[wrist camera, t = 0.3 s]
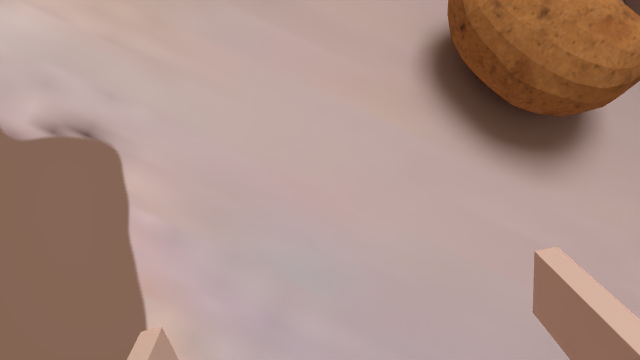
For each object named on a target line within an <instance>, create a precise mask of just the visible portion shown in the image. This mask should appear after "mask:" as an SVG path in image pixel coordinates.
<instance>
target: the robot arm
mask: <svg viewBox="0 0 640 360" xmlns="http://www.w3.org/2000/svg"><path fill="white" fill-rule="evenodd" d="M533 313H534V314H535V316H536V317H537V318H538V319H539V321H540V322H541V323H542V324H543V326H544V327H545V328H546V329H547V331H548V332H549V333H550V334H551V336H552V337H553V338H554V340H555V341H556V342H557V343H558V345H559V346H560V347H561V348H562V350H563V351H564V352H565V353H566V355H567V356H568V357H569V358H570V360H640V319H638V318H637V317H636V316H635V315H634V314H633V313H632V312H631V311H629V310H628V309H627V308H626V307H625V306H624V305H623V304H621V303H620V302H619V301H618V300H617V299H616V298H615V297H614V296H612V295H611V294H610V293H609V292H608V291H607V290H606V289H605V288H603V287H602V286H601V285H600V284H599V283H598V282H597V281H595V280H594V279H593V278H592V277H591V276H590V275H589V274H588V273H586V272H585V271H584V270H583V269H582V268H581V267H580V266H579V265H577V264H576V263H575V262H574V261H573V260H572V259H571V258H570V257H568V256H567V255H566V254H565V253H564V252H563V251H562V250H560V249H559V248H558V247H553V248H548V249H543V250H538V251H535V257H534V290H533ZM127 360H179V359H178V357H177V355H176V353H175V351H174V350H173V348H172V346H171V344H170V342H169V340H168V338H167V336H166V334H165V332H164V330H163V328H162V327H161V328H156V329H151V330H147V331H142V332H141V333H140V335H139V337H138V339H137V341H136V343H135V345H134V347H133V349H132V351H131V353H130V355H129V357H128V359H127Z"/></svg>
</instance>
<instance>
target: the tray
mask: <svg viewBox="0 0 640 360" xmlns="http://www.w3.org/2000/svg"><path fill="white" fill-rule="evenodd" d="M624 1H625V4H626V5H627V6H628V7H629V8H630V9H632V10H633V11H634V12H635V13H636V14H638V15H639V16H640V0H624Z"/></svg>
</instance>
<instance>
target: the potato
mask: <svg viewBox="0 0 640 360" xmlns="http://www.w3.org/2000/svg"><path fill="white" fill-rule="evenodd" d="M448 20H449V27H450V34H451V40H452V41H453V43H454V45H455V47H456V49H457V51H458V53H459V55H460V56H461V58H462V60H463V61H464V62H465V63H466V65H467V66H468V67H469V68H470V69H471V70H472V71H473V72H474V74H475V75H476V76H477V77H478V78H479V79H481V80H482V81H483V82H484V83H485V84H486V85H487V86H488V87H490V88H491V89H492V90H493V91H494V92H495V93H497V94H498V95H499V96H501V97H502V98H503V99H505V100H506V101H507V102H509V103H510V104H511V105H513V106H516V107H519V108H521V109H524V110H527V111H530V112H533V113H536V114H544V115H553V116H565V115H571V114H577V113H581V112H585V111H589V110H593V109H596V108H600V107H603V106H605V105H606V104H608V103H610V102H611V101H613V100H614V99H616V98H618V97H619V96H620V95H622V94H623V93H624V92H625V91H627V90H628V89H629V88H631V87H632V86H633V85H635V84H636V83H637V82H639V81H640V16H639V15H638V14H636V13H635V12H634V11H633V10H632V9H630V8H629V7H628V6H627V5H626V4H624V3H623V2H622V1H620V0H449V1H448Z"/></svg>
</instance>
